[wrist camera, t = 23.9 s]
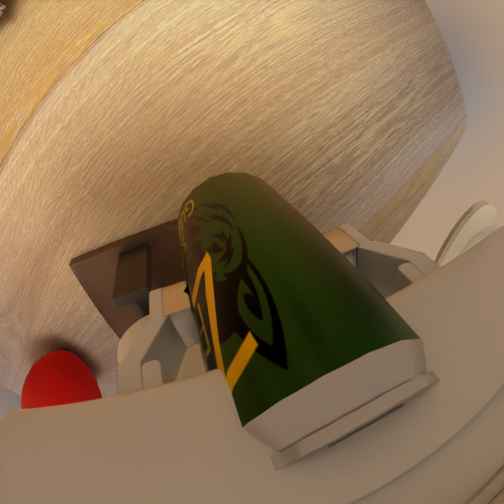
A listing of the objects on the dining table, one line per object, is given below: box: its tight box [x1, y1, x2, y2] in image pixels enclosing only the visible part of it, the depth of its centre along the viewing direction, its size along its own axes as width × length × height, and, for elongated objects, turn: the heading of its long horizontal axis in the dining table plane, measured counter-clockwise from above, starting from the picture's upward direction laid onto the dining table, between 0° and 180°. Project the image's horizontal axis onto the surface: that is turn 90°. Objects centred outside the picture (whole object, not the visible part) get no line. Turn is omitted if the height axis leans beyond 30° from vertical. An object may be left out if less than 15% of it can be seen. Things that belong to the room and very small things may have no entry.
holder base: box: [69, 220, 185, 340], centre depth 25 cm, size 14×14×8 cm
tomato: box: [21, 350, 102, 409], centre depth 24 cm, size 13×11×14 cm
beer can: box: [177, 172, 439, 470], centre depth 10 cm, size 5×5×12 cm
